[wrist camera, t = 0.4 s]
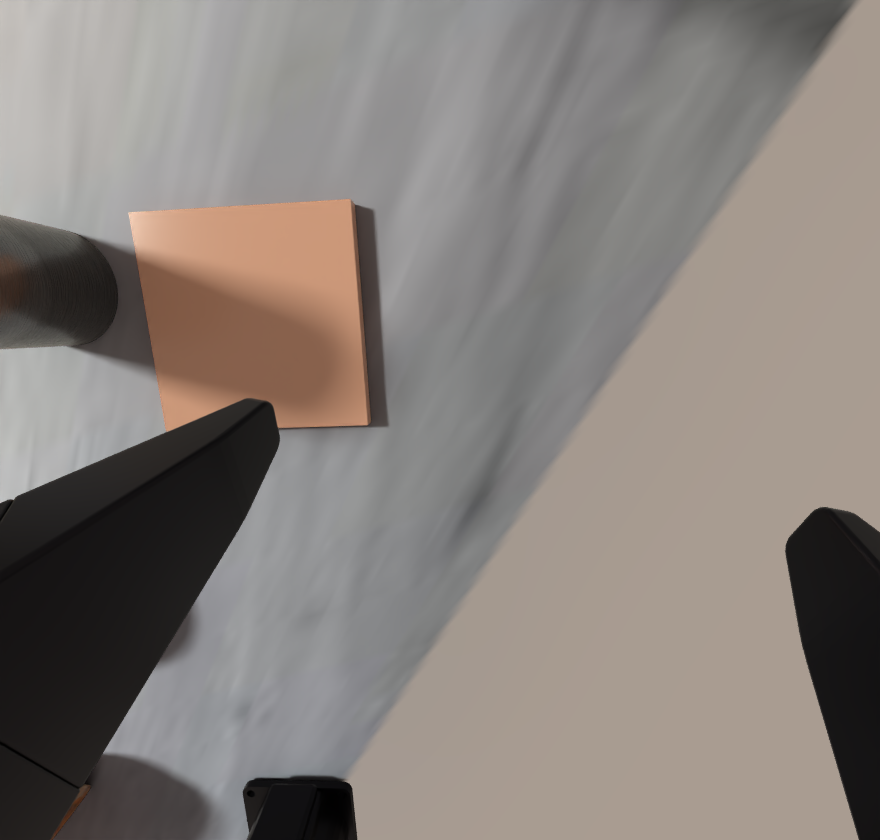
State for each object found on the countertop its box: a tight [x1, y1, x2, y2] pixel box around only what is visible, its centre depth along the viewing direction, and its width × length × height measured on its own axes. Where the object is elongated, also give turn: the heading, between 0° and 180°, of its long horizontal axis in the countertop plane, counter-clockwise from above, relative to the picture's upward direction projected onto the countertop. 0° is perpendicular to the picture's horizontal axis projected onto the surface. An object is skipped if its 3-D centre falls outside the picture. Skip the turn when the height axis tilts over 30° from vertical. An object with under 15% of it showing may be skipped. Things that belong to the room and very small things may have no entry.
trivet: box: [129, 199, 371, 431], centre depth 21 cm, size 10×10×1 cm
